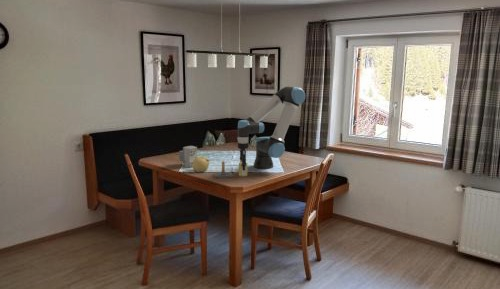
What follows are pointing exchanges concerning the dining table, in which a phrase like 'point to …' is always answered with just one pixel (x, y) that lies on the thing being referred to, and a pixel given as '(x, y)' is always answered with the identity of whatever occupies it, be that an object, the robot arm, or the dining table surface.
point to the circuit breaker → (188, 155)
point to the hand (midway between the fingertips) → (242, 171)
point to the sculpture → (200, 164)
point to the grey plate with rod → (223, 173)
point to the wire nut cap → (241, 170)
